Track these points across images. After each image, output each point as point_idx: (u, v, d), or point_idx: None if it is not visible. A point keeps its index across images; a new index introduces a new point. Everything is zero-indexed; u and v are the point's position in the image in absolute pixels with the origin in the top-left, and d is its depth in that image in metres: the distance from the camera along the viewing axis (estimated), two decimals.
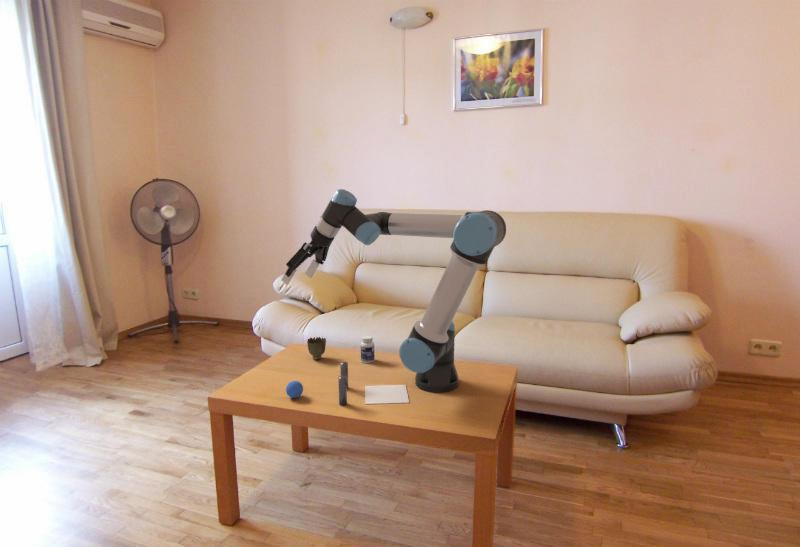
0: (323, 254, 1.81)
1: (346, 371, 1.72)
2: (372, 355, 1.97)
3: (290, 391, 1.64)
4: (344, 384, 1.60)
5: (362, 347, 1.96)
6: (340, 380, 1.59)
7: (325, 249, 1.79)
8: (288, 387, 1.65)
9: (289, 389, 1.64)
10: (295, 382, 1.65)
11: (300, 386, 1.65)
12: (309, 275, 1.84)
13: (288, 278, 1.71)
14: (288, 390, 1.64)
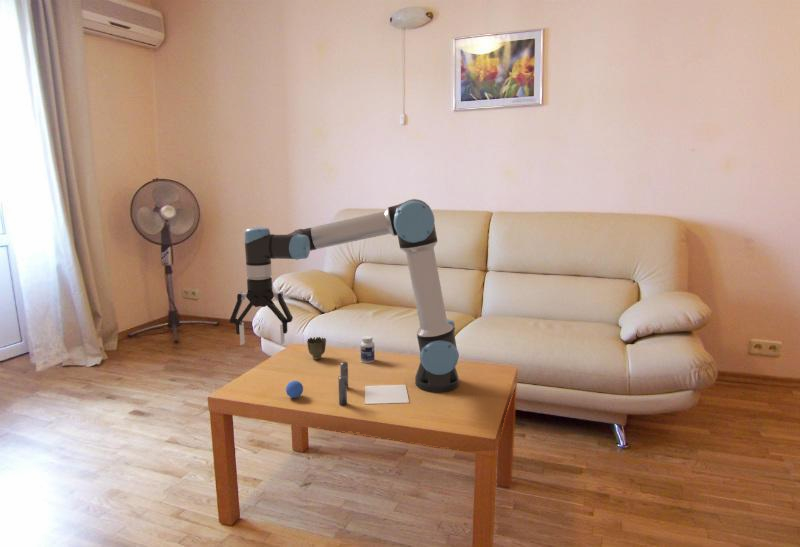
0: None
1: (346, 371, 1.72)
2: (372, 355, 1.97)
3: (290, 391, 1.64)
4: (344, 384, 1.60)
5: (362, 347, 1.96)
6: (340, 380, 1.59)
7: None
8: (288, 387, 1.65)
9: (289, 389, 1.64)
10: (295, 382, 1.65)
11: (300, 386, 1.65)
12: (281, 341, 1.63)
13: None
14: (288, 390, 1.64)
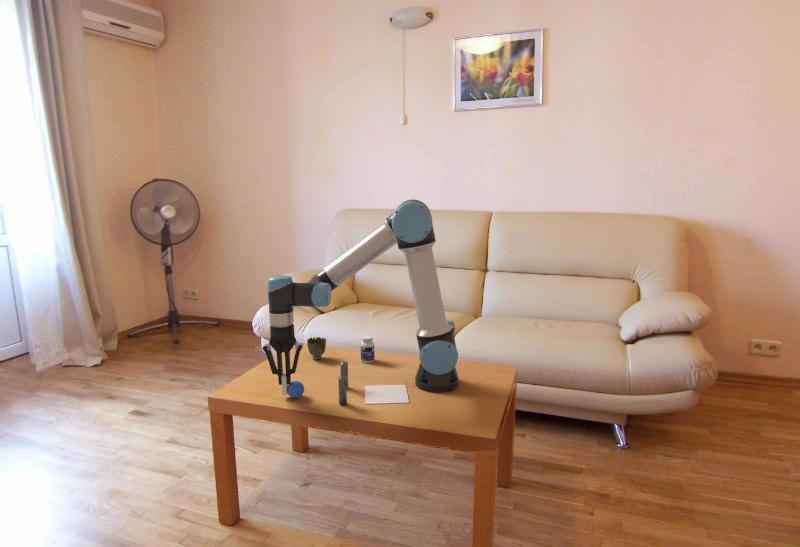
0: (293, 362, 1.64)
1: (346, 371, 1.72)
2: (372, 355, 1.97)
3: (291, 391, 1.64)
4: (344, 384, 1.60)
5: (362, 347, 1.96)
6: (340, 380, 1.59)
7: (295, 353, 1.63)
8: (290, 386, 1.65)
9: (290, 389, 1.64)
10: (297, 382, 1.66)
11: (302, 387, 1.65)
12: None
13: None
14: (289, 389, 1.64)
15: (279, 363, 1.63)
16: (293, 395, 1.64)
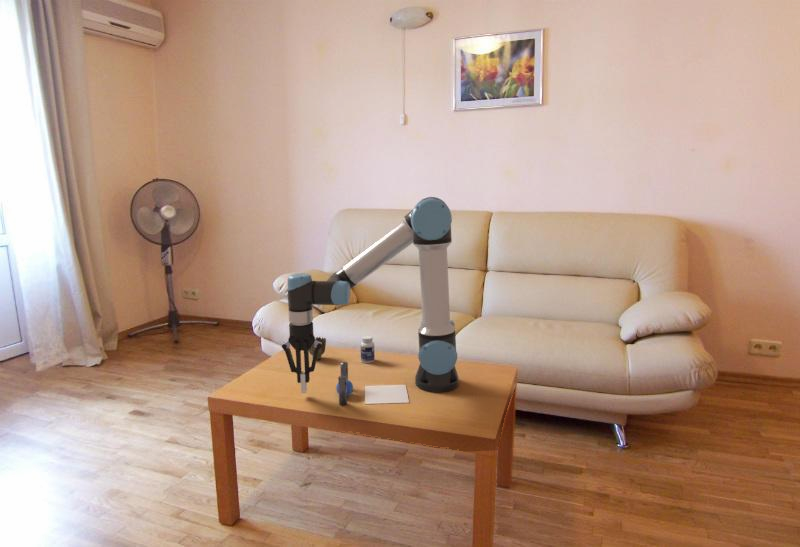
0: (312, 360, 1.65)
1: (346, 371, 1.72)
2: (372, 355, 1.97)
3: None
4: (344, 384, 1.60)
5: (362, 347, 1.96)
6: (340, 380, 1.59)
7: (314, 351, 1.64)
8: (337, 391, 1.66)
9: None
10: (338, 383, 1.67)
11: None
12: None
13: (301, 385, 1.66)
14: None
15: (298, 361, 1.64)
16: None
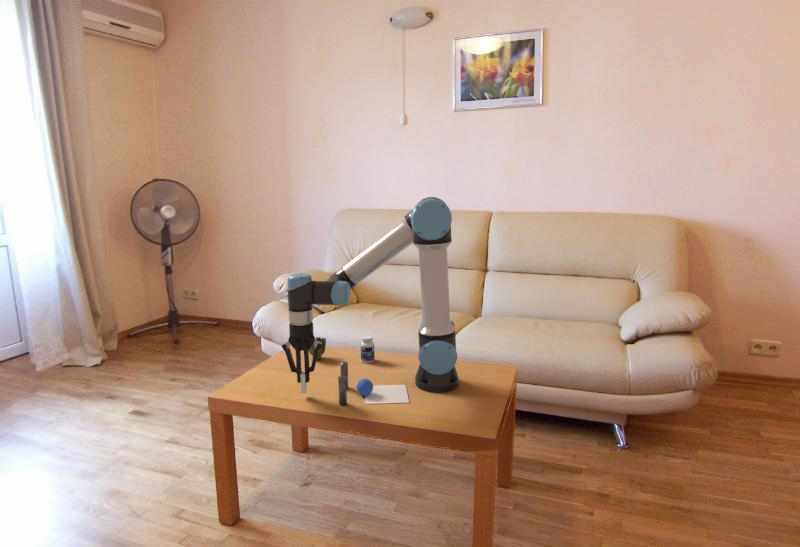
0: (312, 360, 1.65)
1: (346, 371, 1.72)
2: (372, 355, 1.97)
3: (365, 386, 1.65)
4: (344, 384, 1.60)
5: (362, 347, 1.96)
6: (340, 380, 1.59)
7: (314, 351, 1.64)
8: (368, 383, 1.66)
9: (367, 385, 1.66)
10: (372, 388, 1.68)
11: (369, 393, 1.67)
12: None
13: (301, 385, 1.66)
14: (366, 384, 1.66)
15: (298, 361, 1.64)
16: (361, 389, 1.65)
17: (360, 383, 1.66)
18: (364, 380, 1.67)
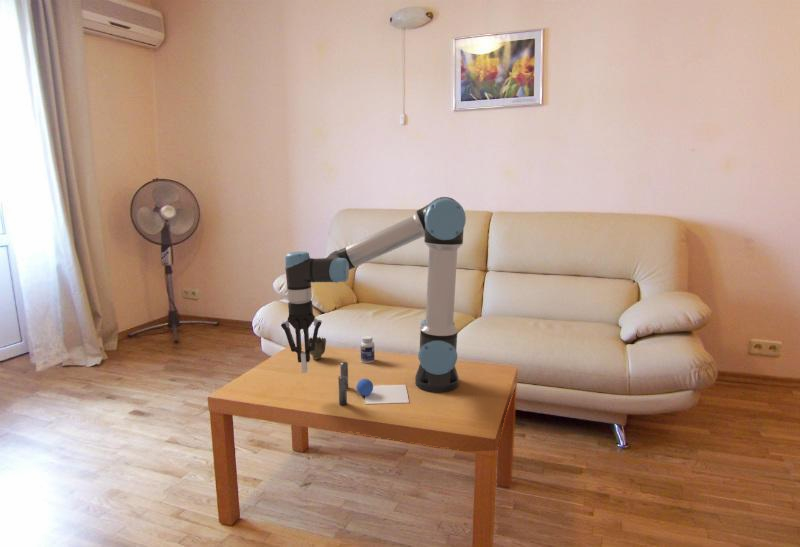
0: (312, 339, 1.63)
1: (346, 371, 1.72)
2: (372, 355, 1.97)
3: (365, 386, 1.65)
4: (344, 384, 1.60)
5: (362, 347, 1.96)
6: (340, 380, 1.59)
7: (314, 330, 1.62)
8: (368, 383, 1.66)
9: (367, 385, 1.66)
10: (372, 388, 1.68)
11: (369, 393, 1.67)
12: None
13: None
14: (366, 384, 1.66)
15: (298, 340, 1.62)
16: (361, 389, 1.65)
17: (360, 383, 1.66)
18: (364, 380, 1.67)
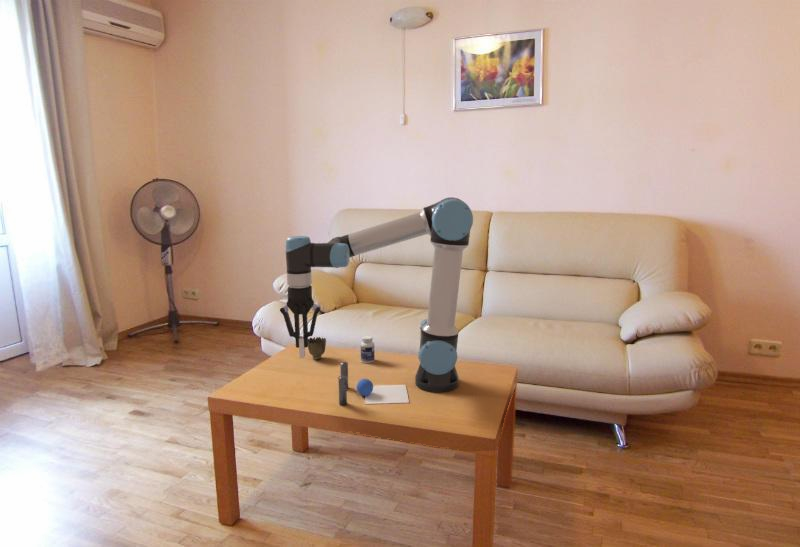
0: (311, 324, 1.62)
1: (346, 371, 1.72)
2: (372, 355, 1.97)
3: (365, 386, 1.65)
4: (344, 384, 1.60)
5: (362, 347, 1.96)
6: (340, 380, 1.59)
7: None
8: (368, 383, 1.66)
9: (367, 385, 1.66)
10: (372, 388, 1.68)
11: (369, 393, 1.67)
12: None
13: None
14: (366, 384, 1.66)
15: (296, 325, 1.61)
16: (361, 389, 1.65)
17: (360, 383, 1.66)
18: (364, 380, 1.67)
